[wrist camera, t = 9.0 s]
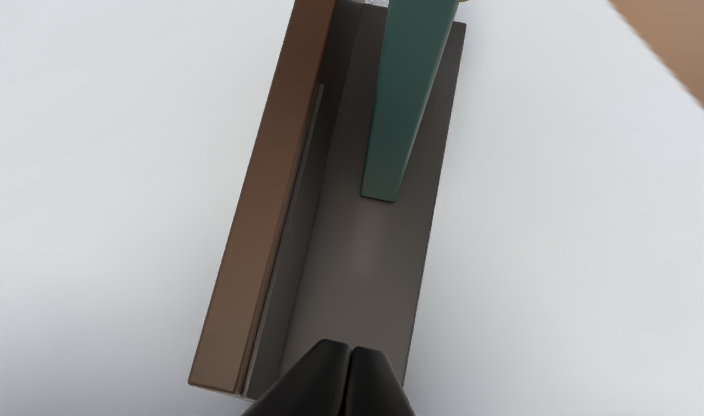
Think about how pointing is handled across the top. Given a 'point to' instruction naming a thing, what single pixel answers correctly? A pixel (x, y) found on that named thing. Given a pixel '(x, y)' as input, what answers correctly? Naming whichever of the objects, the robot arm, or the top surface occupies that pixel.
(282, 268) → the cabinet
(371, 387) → the robot arm
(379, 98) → the sliding door
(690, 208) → the top surface
